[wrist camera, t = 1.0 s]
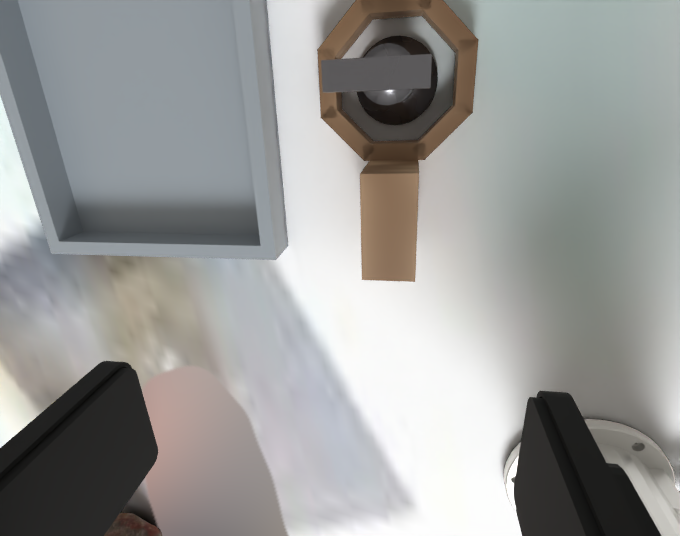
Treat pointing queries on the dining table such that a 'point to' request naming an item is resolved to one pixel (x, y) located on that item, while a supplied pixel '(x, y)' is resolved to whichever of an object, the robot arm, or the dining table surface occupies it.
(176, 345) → the dining table surface
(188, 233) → the tray
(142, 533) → the candle
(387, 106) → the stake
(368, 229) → the ring
